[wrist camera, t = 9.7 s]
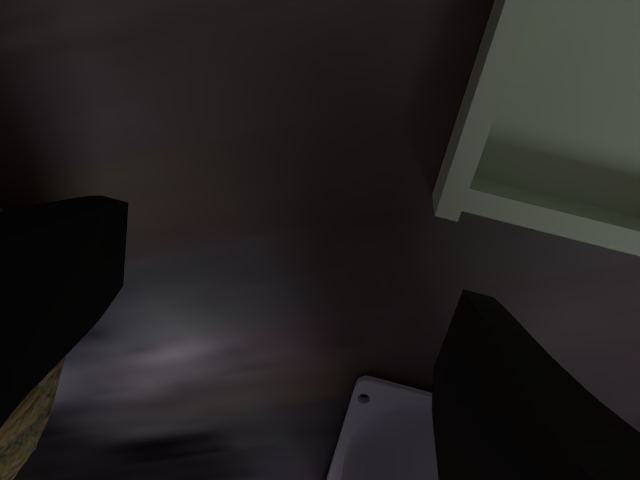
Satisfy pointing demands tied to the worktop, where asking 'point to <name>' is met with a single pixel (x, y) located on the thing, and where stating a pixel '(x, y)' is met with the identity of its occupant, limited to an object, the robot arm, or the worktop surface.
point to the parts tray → (551, 123)
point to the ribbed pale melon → (27, 424)
